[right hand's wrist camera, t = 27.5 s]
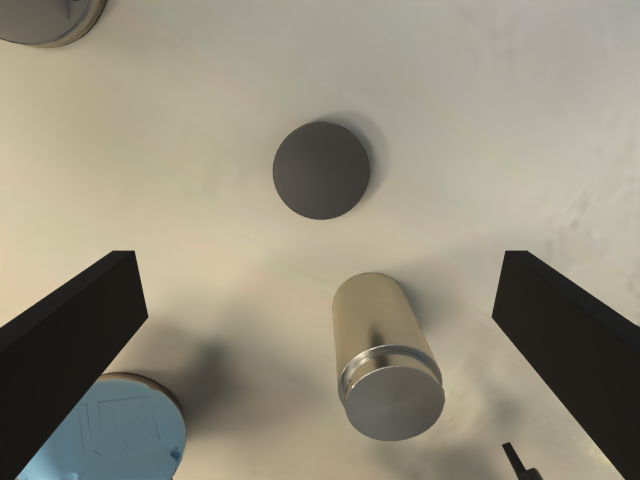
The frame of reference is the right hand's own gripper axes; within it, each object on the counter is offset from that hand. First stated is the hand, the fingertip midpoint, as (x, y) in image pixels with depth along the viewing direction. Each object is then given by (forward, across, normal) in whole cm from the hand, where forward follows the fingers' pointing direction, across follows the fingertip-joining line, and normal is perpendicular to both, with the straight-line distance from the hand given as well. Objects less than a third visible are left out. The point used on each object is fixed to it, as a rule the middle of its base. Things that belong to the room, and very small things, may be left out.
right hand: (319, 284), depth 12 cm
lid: (+24, 0, 0) cm, 24 cm away
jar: (+26, +6, -17) cm, 32 cm away
